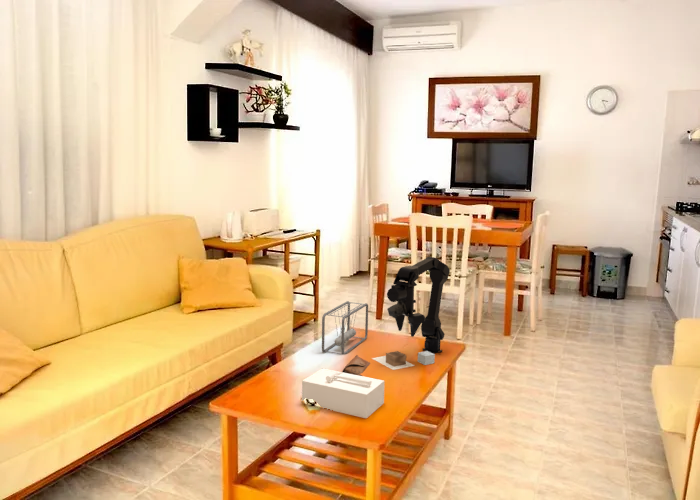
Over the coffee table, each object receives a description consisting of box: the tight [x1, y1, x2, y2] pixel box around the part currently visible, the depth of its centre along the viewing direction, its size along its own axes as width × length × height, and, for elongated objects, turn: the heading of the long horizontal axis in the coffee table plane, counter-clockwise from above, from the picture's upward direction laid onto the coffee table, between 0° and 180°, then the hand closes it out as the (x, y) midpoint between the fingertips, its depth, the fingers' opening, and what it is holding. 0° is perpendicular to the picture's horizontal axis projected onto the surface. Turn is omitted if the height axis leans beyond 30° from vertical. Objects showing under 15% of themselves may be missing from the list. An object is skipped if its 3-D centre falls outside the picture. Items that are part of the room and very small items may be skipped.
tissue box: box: [301, 368, 385, 419], centre depth 213 cm, size 14×25×11 cm, turn 63°
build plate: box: [371, 355, 415, 371], centre depth 254 cm, size 11×16×1 cm
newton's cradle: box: [321, 300, 369, 355], centre depth 277 cm, size 30×10×18 cm, turn 157°
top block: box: [417, 350, 436, 366], centre depth 254 cm, size 5×5×5 cm
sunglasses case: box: [341, 354, 371, 376], centre depth 247 cm, size 18×7×7 cm
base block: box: [385, 350, 407, 367], centre depth 252 cm, size 6×6×4 cm
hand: (406, 333), depth 255 cm, fingers open, 9 cm apart
